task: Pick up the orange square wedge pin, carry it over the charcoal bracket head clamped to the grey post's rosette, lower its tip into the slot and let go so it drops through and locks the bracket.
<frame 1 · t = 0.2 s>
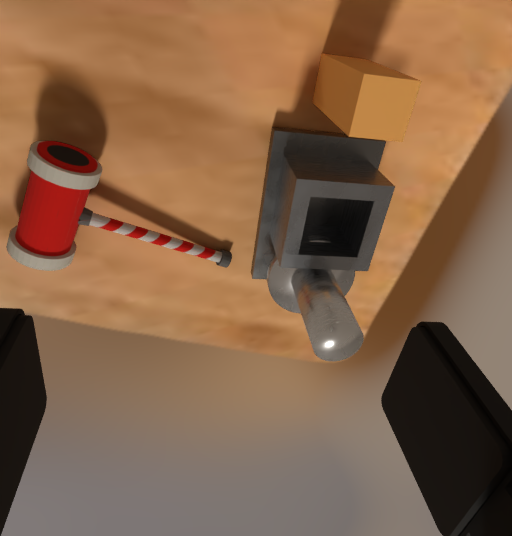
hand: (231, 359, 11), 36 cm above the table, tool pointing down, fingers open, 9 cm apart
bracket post: (307, 225, 50), on the table
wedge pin: (338, 81, 42), on the table
toy hammer: (117, 211, 47), on the table
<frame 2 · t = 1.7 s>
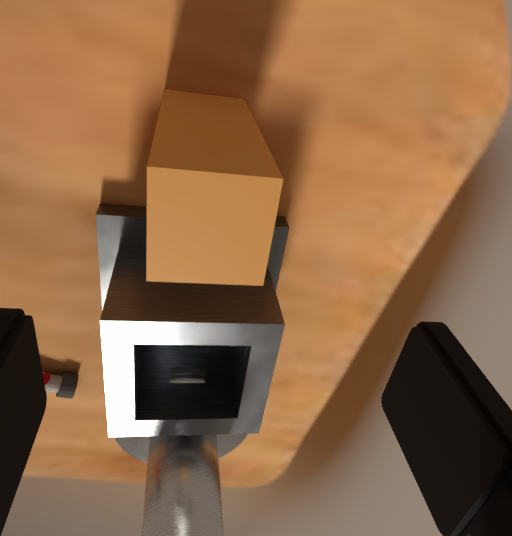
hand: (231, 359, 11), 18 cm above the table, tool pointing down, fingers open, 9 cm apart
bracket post: (186, 335, 33), on the table
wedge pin: (202, 134, 25), on the table
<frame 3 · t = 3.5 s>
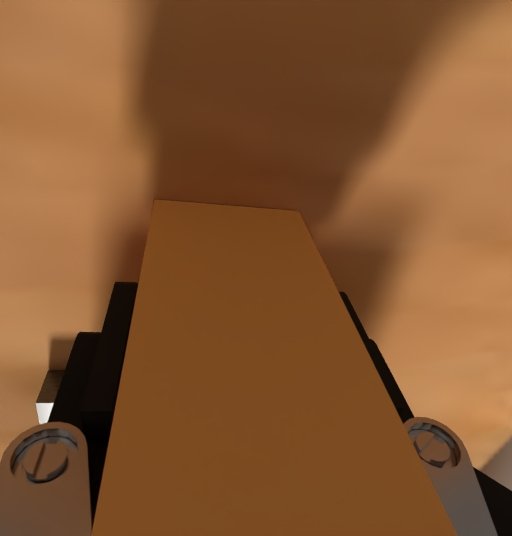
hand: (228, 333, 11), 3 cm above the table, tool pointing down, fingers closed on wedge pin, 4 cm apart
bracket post: (191, 517, 23), on the table
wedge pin: (221, 266, 14), on the table, touching gripper
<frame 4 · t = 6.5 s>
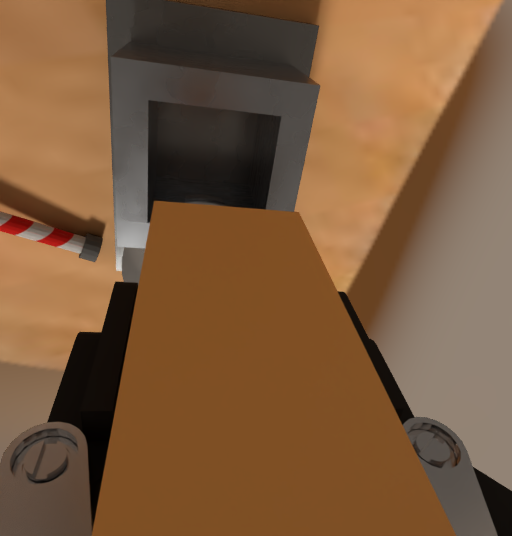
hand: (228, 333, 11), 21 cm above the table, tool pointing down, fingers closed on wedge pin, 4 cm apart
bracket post: (202, 183, 31), on the table
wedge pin: (221, 267, 14), point 17 cm above the table, touching gripper
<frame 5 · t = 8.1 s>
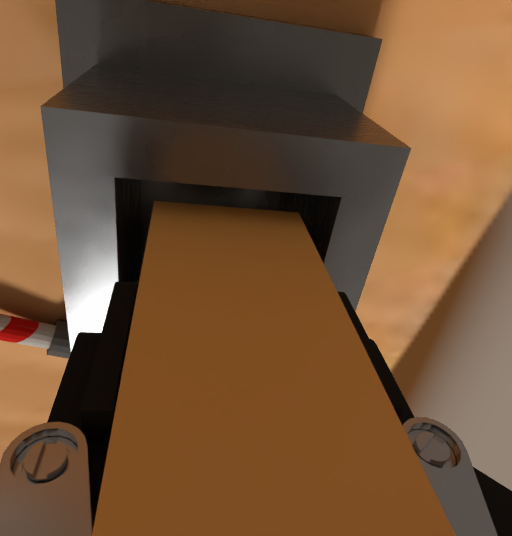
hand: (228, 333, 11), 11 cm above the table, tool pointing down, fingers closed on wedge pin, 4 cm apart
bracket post: (205, 251, 22), on the table
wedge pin: (221, 267, 14), point 7 cm above the table, touching gripper
when the fingers open (10 cm above the table, at t = 9.4 s): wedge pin drops 5 cm, resting on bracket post.
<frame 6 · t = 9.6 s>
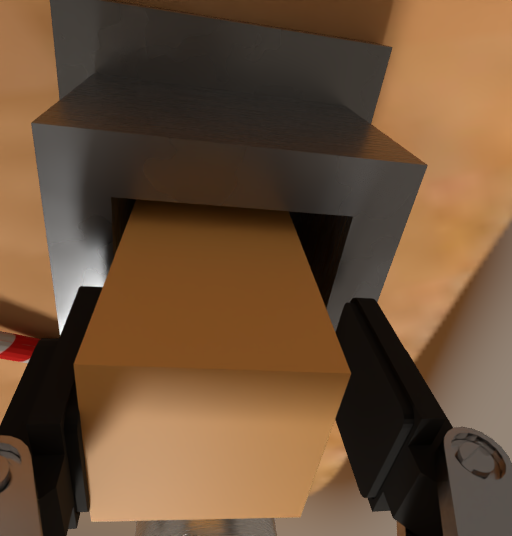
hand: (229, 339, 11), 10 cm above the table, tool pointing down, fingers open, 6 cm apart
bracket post: (206, 264, 22), on the table
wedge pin: (208, 204, 18), point 2 cm above the table, touching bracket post, gripper
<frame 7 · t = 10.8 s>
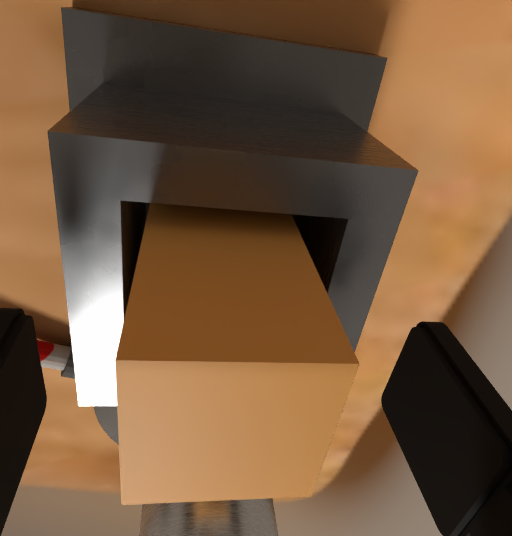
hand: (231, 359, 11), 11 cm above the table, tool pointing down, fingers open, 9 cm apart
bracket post: (209, 267, 22), on the table
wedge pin: (211, 207, 19), point 1 cm above the table, touching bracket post
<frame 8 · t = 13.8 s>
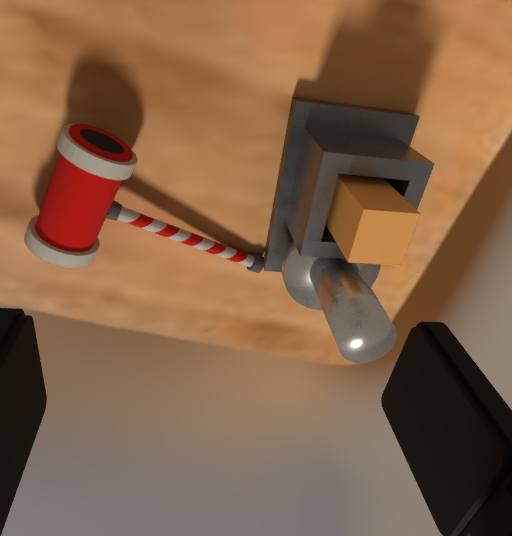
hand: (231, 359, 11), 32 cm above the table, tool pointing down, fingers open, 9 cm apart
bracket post: (327, 211, 45), on the table
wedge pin: (337, 180, 42), point 1 cm above the table, touching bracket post
toy hammer: (146, 207, 43), on the table
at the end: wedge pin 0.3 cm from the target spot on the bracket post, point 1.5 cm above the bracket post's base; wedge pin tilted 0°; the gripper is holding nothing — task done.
